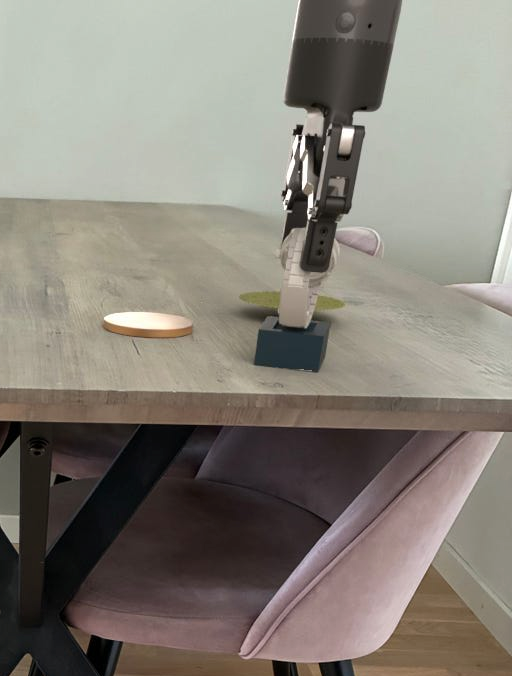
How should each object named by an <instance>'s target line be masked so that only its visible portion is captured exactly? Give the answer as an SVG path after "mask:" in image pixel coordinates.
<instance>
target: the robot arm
mask: <svg viewBox="0 0 512 676" xmlns="http://www.w3.org/2000/svg"><path fill="white" fill-rule="evenodd" d="M297 4H298V5H297V10H296V16H295V22H294V28H293V35H292V41H291V46H290V52H289V59H288V65H287V71H286V78H285V82H284V83H285V84H284V90H283V95H282V101H283V104H284V105H285V106H286V107H289V108H296V109H304V110H305V111H306V117H305V119H304V124H299V123H298V124H297V123H295V124H294V126H293V129H292V131H291V141H290V147H289V153H288V158H287V164H286V169H285V175H284V180H283V185H282V189H281V192H280V197H281V201H282V202H283V208H284V211H286V212H285V214H284V215H285V216H284V222H283V226H282V227H283V228H282V233H281V239H280V245H279V249H281V251H282V245H283V242H284V240H285V238H286V237H287V236H288V235H289V234H290V232H291V230H292V229H293V228H304V227H305V228H306V231H305V237H304V242H303V248H302V253H301V258H300V264H299V265H300V268H301V269H302V270H303V271H306V272H319V273H323V272H326V271H327V270H328V268H329V264H330V259H331V254H332V248H333V243H334V238H335V239H336V233H337V228H338V223H339V222H340V223H341V221H342V220H343V217H344V215H349V213H350V212H351V209H352V207H353V197H354V193H355V192H354V191H355V187H356V181H357V177H358V170H359V167H360V166H359V165H360V161H361V160H360V159H361V154H362V150H363V144H364V139H365V136H366V127H365V125H360V124H359V125H358V124H354V114H355V113H374V112H377V111H379V109H380V108H381V106H382V104H383V99H384V95H385V90H386V85H387V79H388V75H389V70H390V65H391V62H392V61H391V60H392V55H393V51H394V44H395V40H396V35H397V31H398V26H399V21H400V17H401V12H402V7H403V6H402V5H403V0H298V3H297Z"/></svg>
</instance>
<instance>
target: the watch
mask: <svg viewBox="0 0 512 676" xmlns="http://www.w3.org/2000/svg"><path fill="white" fill-rule="evenodd" d="M305 231H306V228H305V227H304V228H293V229H292V230H291V232H290V234H289V235H288V236H287V237H286V238H285V240H284V242H283V245H282V251H281V249H280V248H276V249H275V253H274V258H275V259H279V261H280V264H281V267H282V269H283V271H284V275H283V284H282V286H281V287H280V291H281V292H280V291H279V292H280V304H279V308H277V314H278V316H273V315H267V316H266V318H265V319H264V321H263V323H262V324H261V325H260V327H259V328H258V331H257V338H256V345H255V353H254V354H255V355H254V362H253V366H259V367H266V368H267V367H268V368H275V367H278V368H277V369H283V368H289V369H288V370H292V369H304V370H312V371H318V372H319V371H320V369H321V367H322V365H323V362H324V360H325V358H326V353H327V348H328V342H329V337H330V329H331V325H332V322H330V321H320V320H312V318H313V315H314V312H315V311H314V309H315V304H316V301H317V297H318V295H319V292H320V289H324V288H325V286H326V284H327V281H328V279H329V278H330V276H331V274H332V272H333V271H334V270H335V268H336V265H337V263H338V261H339V258H340V254H341V250H340V248H341V247H340V243H339V242H338V241H337V238H336V237H335V238H334V243H333V248H332V254H331V259H330V264H329V268H328V270H327V271H326V272H323V273H319V272H306V271H303V270H302V269H301V268H300V265H299V264H300V258H301V253H302V248H303V242H304V237H305Z"/></svg>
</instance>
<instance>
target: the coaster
mask: <svg viewBox="0 0 512 676" xmlns="http://www.w3.org/2000/svg"><path fill="white" fill-rule="evenodd" d="M102 326H103V328H104V329H105V330H107V331H109V332H112V333H115V334H118V335H122V336H128V337H129V336H130V337H138V338H151V339H152V338H153V339H165V338H166V339H167V338H179V337H180V338H181V337H184V336H187V335H190V334H192V333H193V331H194V322H193V321H192V320H191V319H190V318H189V319H188V318H187V317H183V316H179V315H174V314H170V313H169V314H168V313H160V312H150V311H149V312H148V311H126V312H115V313H111V314H108V315H106V316H104V317H103V325H102Z"/></svg>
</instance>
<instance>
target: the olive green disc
mask: <svg viewBox="0 0 512 676" xmlns="http://www.w3.org/2000/svg"><path fill="white" fill-rule="evenodd" d="M280 292H281V290H280V291H275V290H274V291H251V292H246V293H245V292H244V293H241V294H239V295H238V298H239V299H240V300H241V301H243V302H246V303H247V304H252V305H258V306H260V307H261V306H262V307H265V308H276V309H278V308H279V304H280ZM345 306H346V303H345V302H344V301H342V300H340V299H337V298H335V297H331V296H327V295H325V296H323V295H319V294H318V297H317V301H316V304H315V309H314V312H316V311H317V312H318V311H324V312H325V311H326V310H327V311H330V310H337V309H342V308H344V307H345Z"/></svg>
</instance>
